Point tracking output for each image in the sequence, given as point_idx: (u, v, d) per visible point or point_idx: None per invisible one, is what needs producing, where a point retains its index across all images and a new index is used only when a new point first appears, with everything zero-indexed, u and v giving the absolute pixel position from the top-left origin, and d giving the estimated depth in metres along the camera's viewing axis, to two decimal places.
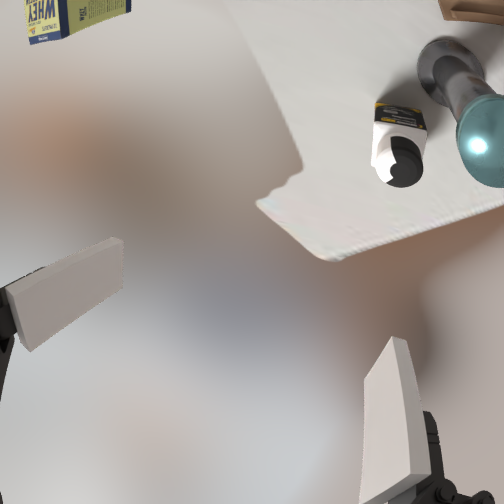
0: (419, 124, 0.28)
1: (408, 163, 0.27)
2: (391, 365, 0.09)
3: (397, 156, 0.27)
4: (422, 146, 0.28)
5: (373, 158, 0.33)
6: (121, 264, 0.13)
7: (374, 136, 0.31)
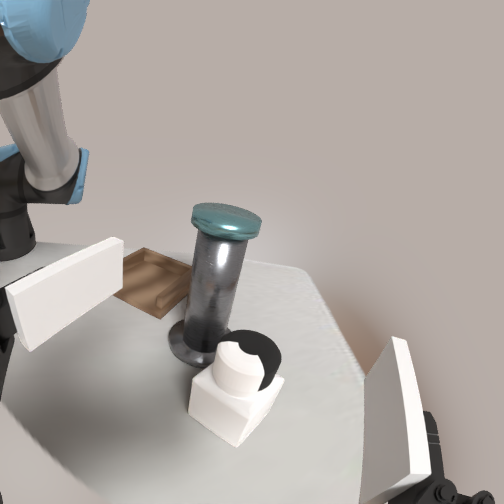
0: None
1: (245, 334, 0.26)
2: (391, 365, 0.09)
3: (230, 338, 0.25)
4: None
5: (239, 408, 0.23)
6: (121, 264, 0.13)
7: (209, 389, 0.24)
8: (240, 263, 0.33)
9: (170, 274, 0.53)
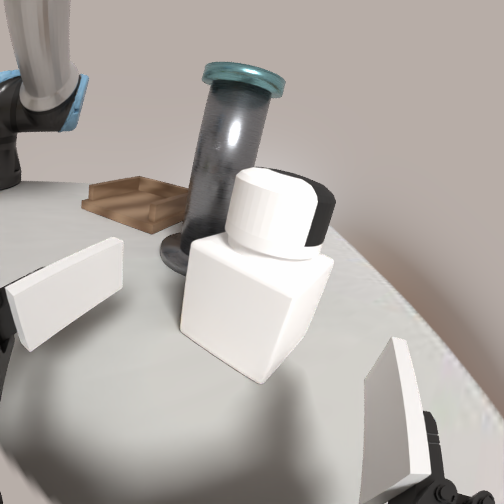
0: None
1: None
2: (391, 365, 0.09)
3: (256, 167, 0.16)
4: None
5: (273, 279, 0.14)
6: (121, 264, 0.13)
7: (218, 254, 0.15)
8: (260, 127, 0.24)
9: None
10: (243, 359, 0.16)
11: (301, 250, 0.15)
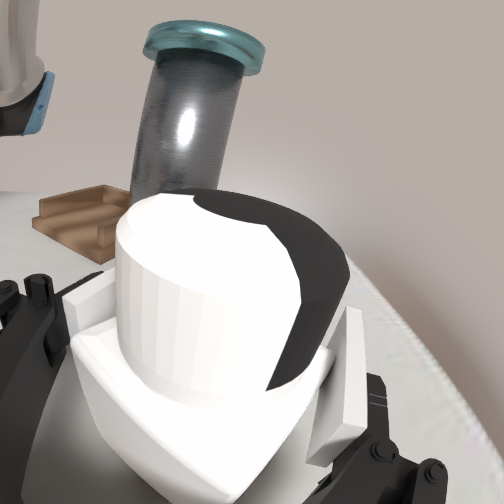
0: None
1: (222, 192, 0.08)
2: (343, 330, 0.11)
3: (171, 191, 0.07)
4: None
5: (193, 455, 0.05)
6: None
7: (102, 375, 0.07)
8: (225, 115, 0.15)
9: None
10: (176, 502, 0.07)
11: (259, 397, 0.06)
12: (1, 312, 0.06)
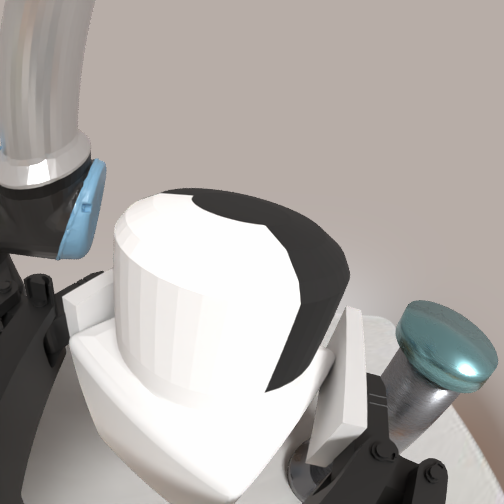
0: None
1: (221, 192, 0.08)
2: (342, 330, 0.11)
3: (170, 191, 0.07)
4: None
5: (192, 456, 0.05)
6: None
7: (100, 375, 0.07)
8: None
9: None
10: (176, 503, 0.07)
11: (258, 398, 0.06)
12: (1, 312, 0.06)
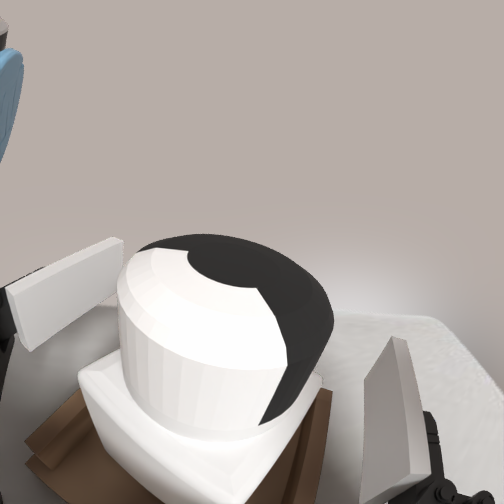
0: None
1: (214, 239, 0.09)
2: (391, 365, 0.09)
3: (165, 243, 0.08)
4: None
5: (197, 477, 0.06)
6: (121, 264, 0.13)
7: (111, 408, 0.07)
8: None
9: None
10: None
11: (252, 430, 0.06)
12: None
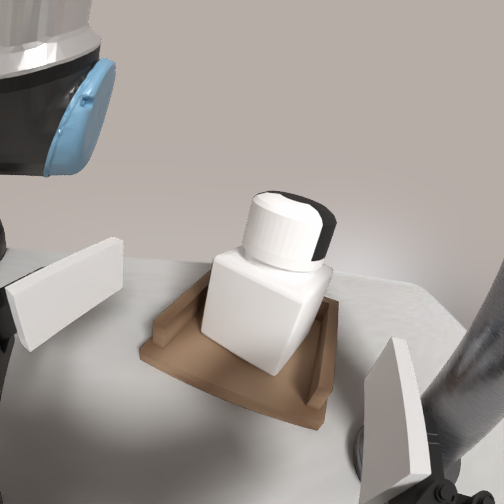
0: None
1: (285, 192, 0.20)
2: (391, 365, 0.09)
3: (269, 191, 0.19)
4: None
5: (286, 289, 0.17)
6: (121, 264, 0.13)
7: (239, 267, 0.18)
8: None
9: None
10: (259, 355, 0.19)
11: (308, 264, 0.18)
12: None
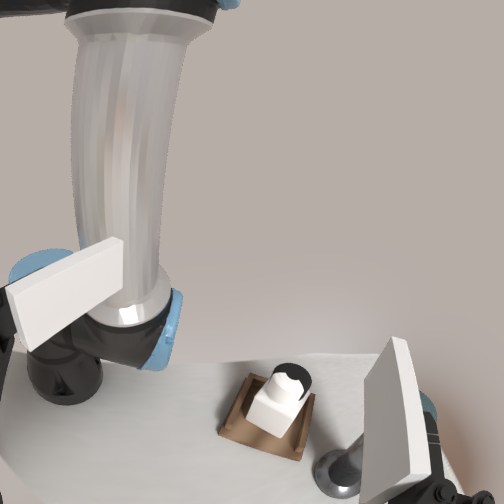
0: None
1: (288, 366, 0.39)
2: (391, 365, 0.09)
3: (280, 370, 0.38)
4: None
5: (286, 413, 0.36)
6: (121, 264, 0.13)
7: (266, 402, 0.37)
8: None
9: None
10: (274, 431, 0.38)
11: (296, 402, 0.37)
12: None
